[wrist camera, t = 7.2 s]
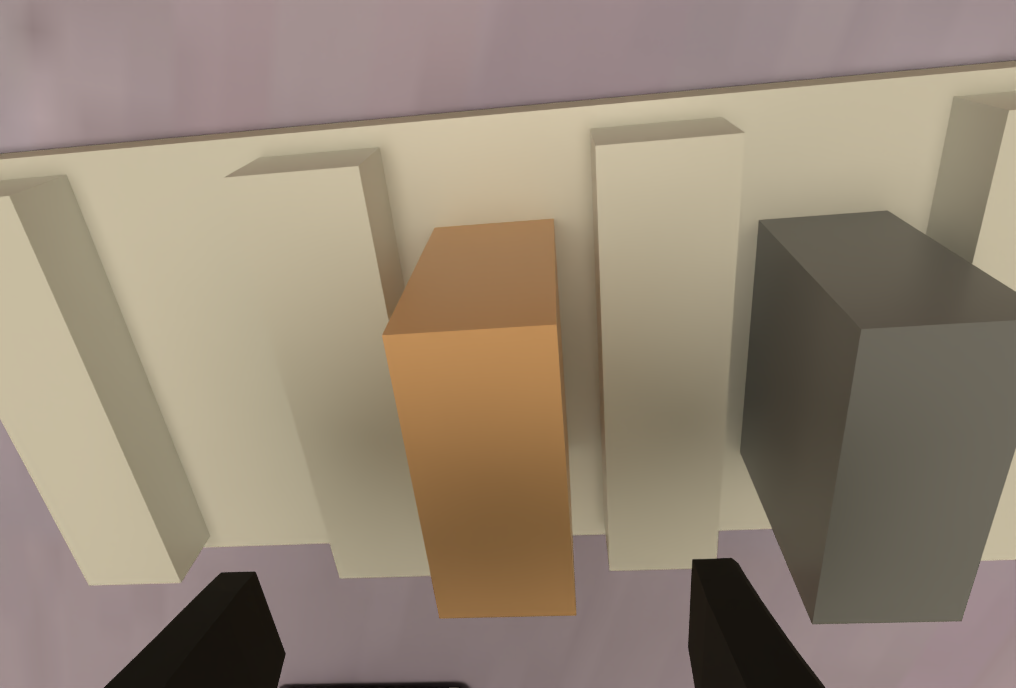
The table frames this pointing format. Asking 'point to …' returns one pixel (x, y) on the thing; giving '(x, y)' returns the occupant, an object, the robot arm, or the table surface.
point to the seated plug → (877, 413)
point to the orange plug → (487, 419)
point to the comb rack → (385, 273)
